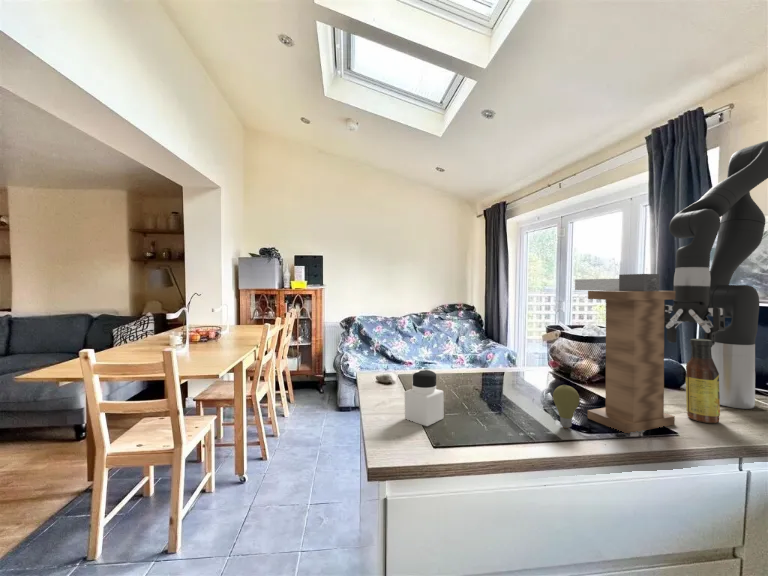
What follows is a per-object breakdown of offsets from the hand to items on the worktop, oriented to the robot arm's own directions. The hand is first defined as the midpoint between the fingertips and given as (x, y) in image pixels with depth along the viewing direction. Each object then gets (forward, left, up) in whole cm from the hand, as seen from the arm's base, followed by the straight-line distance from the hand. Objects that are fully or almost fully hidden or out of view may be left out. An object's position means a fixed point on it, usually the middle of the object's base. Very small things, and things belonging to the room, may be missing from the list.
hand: (689, 344), depth 97 cm
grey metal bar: (+24, -3, +15) cm, 28 cm away
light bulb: (+42, 0, -17) cm, 46 cm away
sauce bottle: (+6, +7, -17) cm, 20 cm away
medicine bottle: (+71, -16, -17) cm, 75 cm away
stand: (+24, +2, -17) cm, 30 cm away
